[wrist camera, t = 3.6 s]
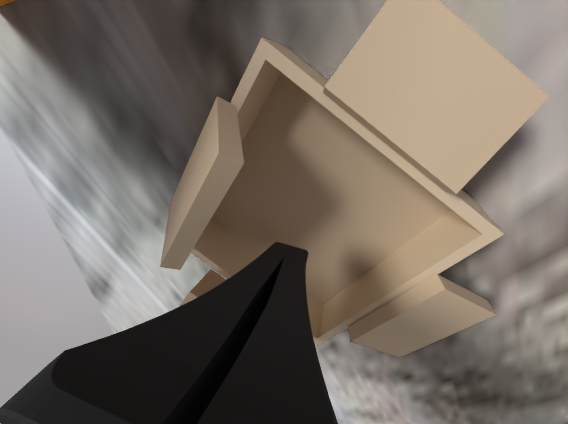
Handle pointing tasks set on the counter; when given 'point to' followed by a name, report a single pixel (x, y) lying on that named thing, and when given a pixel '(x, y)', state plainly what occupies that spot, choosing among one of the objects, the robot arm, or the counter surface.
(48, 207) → the counter surface
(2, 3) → the cereal box
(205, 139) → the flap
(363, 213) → the carton
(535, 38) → the counter surface
